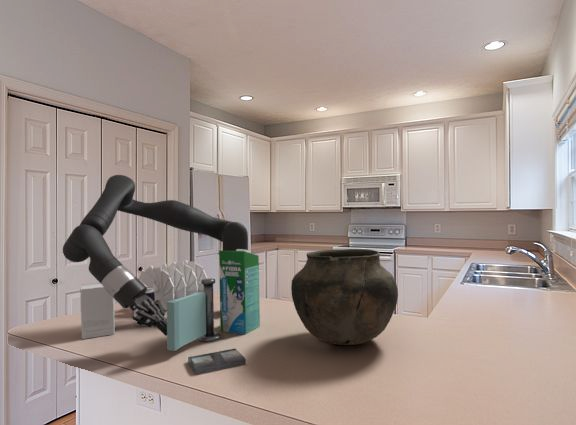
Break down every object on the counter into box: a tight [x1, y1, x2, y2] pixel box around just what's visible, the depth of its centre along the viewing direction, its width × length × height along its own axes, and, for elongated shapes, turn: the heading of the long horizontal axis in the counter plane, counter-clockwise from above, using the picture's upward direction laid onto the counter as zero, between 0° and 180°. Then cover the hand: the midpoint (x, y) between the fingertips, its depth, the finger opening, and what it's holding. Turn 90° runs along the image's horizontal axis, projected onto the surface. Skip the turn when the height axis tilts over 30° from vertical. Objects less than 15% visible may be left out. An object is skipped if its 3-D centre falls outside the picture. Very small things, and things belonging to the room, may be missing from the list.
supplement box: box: [79, 282, 116, 340], centre depth 113 cm, size 9×9×15 cm
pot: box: [290, 248, 399, 346], centre depth 101 cm, size 29×32×25 cm
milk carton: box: [218, 249, 261, 335], centre depth 115 cm, size 9×9×25 cm
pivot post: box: [196, 277, 222, 343], centre depth 106 cm, size 7×7×17 cm
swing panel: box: [166, 292, 206, 351], centre depth 98 cm, size 14×2×12 cm, turn 157°
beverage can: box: [136, 286, 155, 327], centre depth 121 cm, size 6×6×12 cm
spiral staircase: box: [138, 259, 209, 312], centre depth 147 cm, size 18×18×25 cm
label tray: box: [187, 348, 247, 376], centre depth 88 cm, size 12×8×2 cm, turn 117°
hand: (169, 332), depth 96 cm, fingers closed
